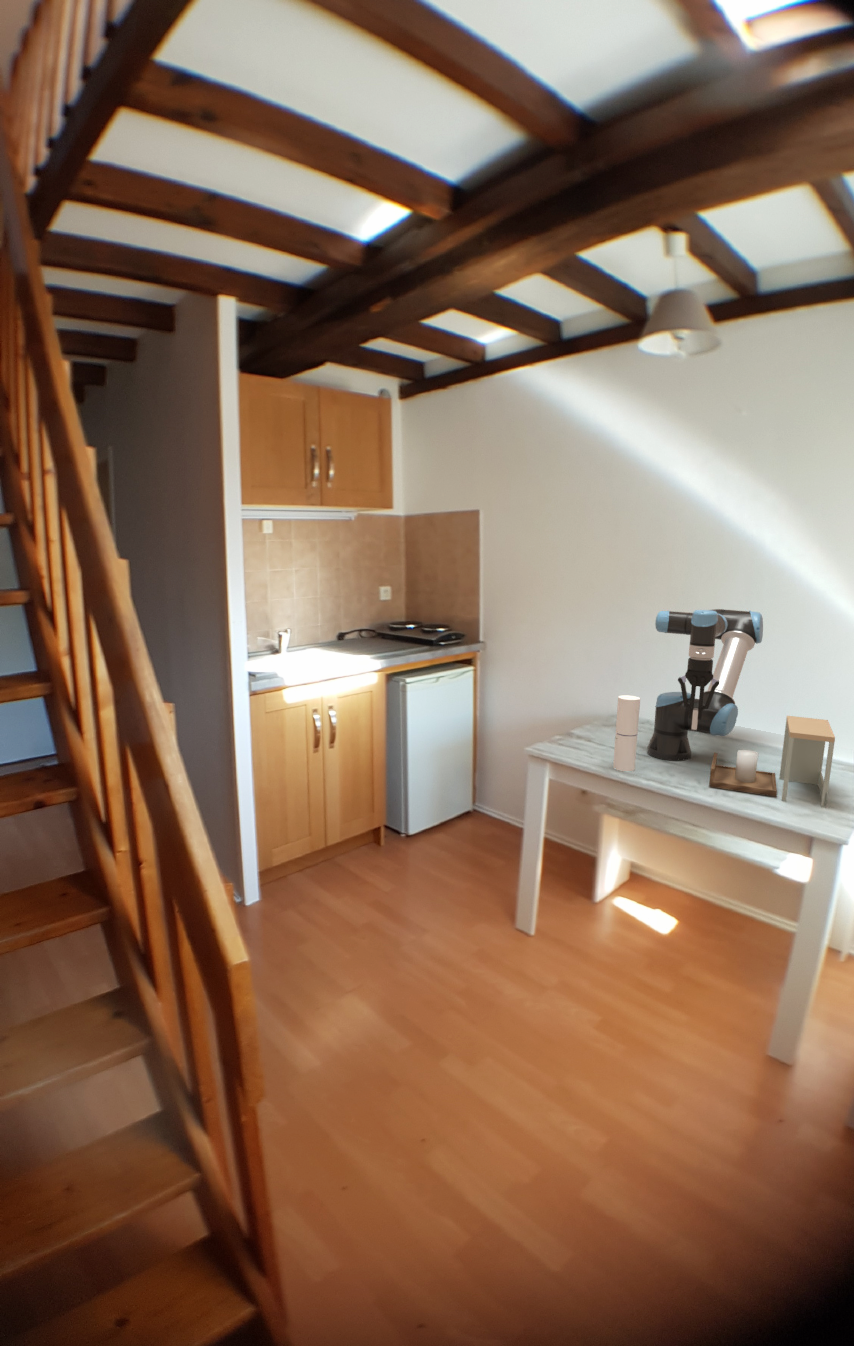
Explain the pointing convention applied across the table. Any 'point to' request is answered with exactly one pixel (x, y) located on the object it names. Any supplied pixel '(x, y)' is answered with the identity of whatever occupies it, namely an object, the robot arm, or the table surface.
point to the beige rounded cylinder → (746, 766)
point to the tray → (726, 780)
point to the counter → (806, 753)
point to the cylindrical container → (626, 732)
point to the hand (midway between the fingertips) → (694, 728)
